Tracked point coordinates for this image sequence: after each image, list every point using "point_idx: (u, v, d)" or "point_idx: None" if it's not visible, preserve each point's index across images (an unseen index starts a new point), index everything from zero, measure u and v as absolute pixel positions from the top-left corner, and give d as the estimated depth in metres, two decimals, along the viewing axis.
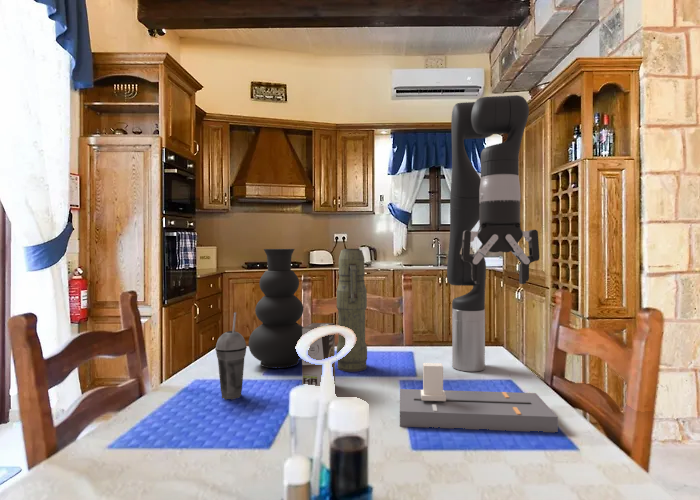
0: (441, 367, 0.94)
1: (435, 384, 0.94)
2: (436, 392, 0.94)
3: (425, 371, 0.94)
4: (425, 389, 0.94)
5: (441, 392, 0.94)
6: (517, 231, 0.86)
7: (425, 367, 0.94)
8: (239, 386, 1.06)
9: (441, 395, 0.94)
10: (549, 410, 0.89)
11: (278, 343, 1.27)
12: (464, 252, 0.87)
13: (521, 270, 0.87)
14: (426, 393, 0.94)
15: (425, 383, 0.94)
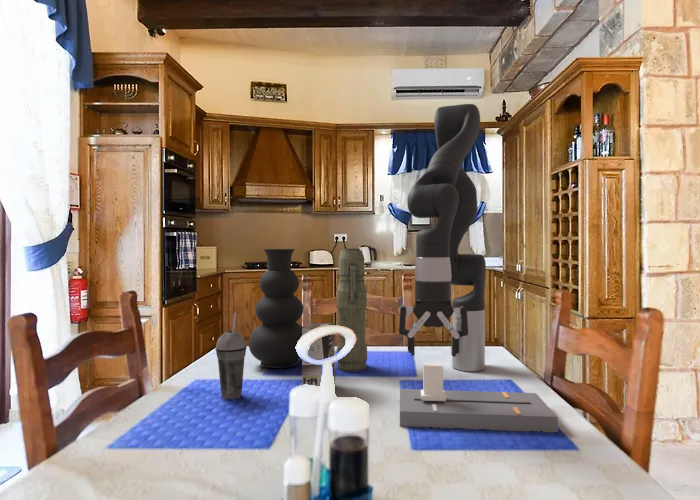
0: (441, 367, 0.94)
1: (435, 384, 0.94)
2: (436, 392, 0.94)
3: (425, 371, 0.94)
4: (425, 389, 0.94)
5: (441, 392, 0.94)
6: (448, 308, 0.94)
7: (425, 367, 0.94)
8: (239, 386, 1.06)
9: (441, 395, 0.94)
10: (549, 410, 0.89)
11: (278, 343, 1.27)
12: (400, 326, 0.95)
13: (452, 344, 0.94)
14: (426, 393, 0.94)
15: (425, 383, 0.94)
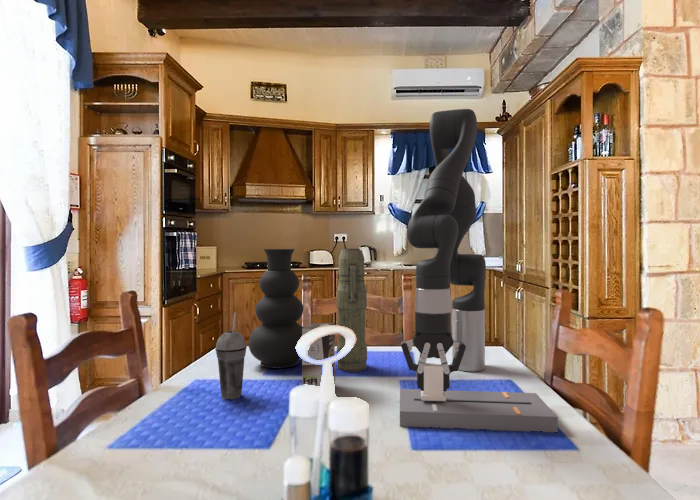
0: (442, 367, 0.94)
1: (435, 384, 0.94)
2: (436, 392, 0.94)
3: (425, 371, 0.94)
4: (425, 389, 0.94)
5: (441, 392, 0.94)
6: (449, 339, 0.94)
7: (425, 367, 0.94)
8: (239, 386, 1.06)
9: (441, 395, 0.94)
10: (549, 410, 0.89)
11: (278, 343, 1.27)
12: (408, 363, 0.95)
13: None
14: (426, 393, 0.94)
15: (425, 383, 0.94)
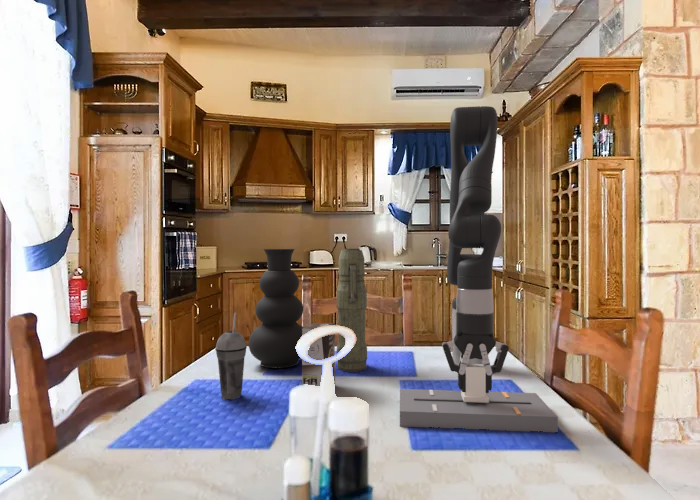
0: (484, 368, 0.93)
1: (477, 386, 0.93)
2: (478, 393, 0.93)
3: (467, 372, 0.93)
4: (467, 390, 0.94)
5: (483, 393, 0.93)
6: (491, 340, 0.93)
7: (467, 368, 0.93)
8: (239, 386, 1.06)
9: (484, 396, 0.93)
10: (549, 410, 0.89)
11: (278, 343, 1.27)
12: (449, 364, 0.94)
13: None
14: (468, 394, 0.93)
15: (467, 384, 0.93)
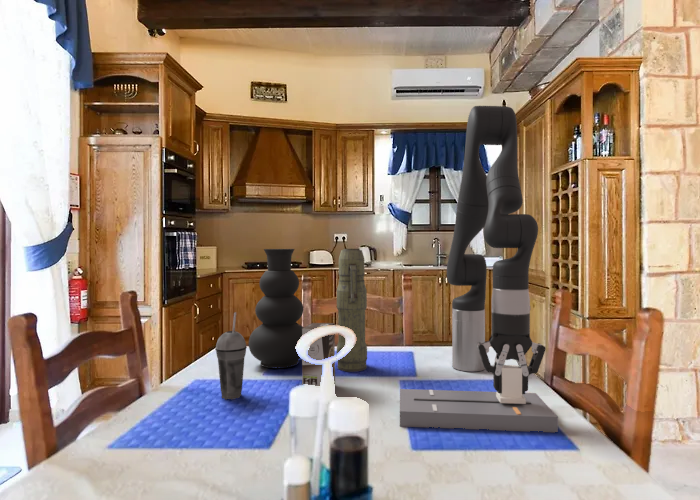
0: (520, 369, 0.92)
1: (514, 387, 0.92)
2: (515, 394, 0.92)
3: (503, 373, 0.93)
4: (503, 391, 0.93)
5: (520, 394, 0.92)
6: (528, 341, 0.92)
7: (503, 369, 0.93)
8: (239, 386, 1.06)
9: (520, 398, 0.92)
10: (549, 410, 0.89)
11: (278, 343, 1.27)
12: (485, 365, 0.93)
13: None
14: (504, 395, 0.93)
15: (503, 385, 0.93)
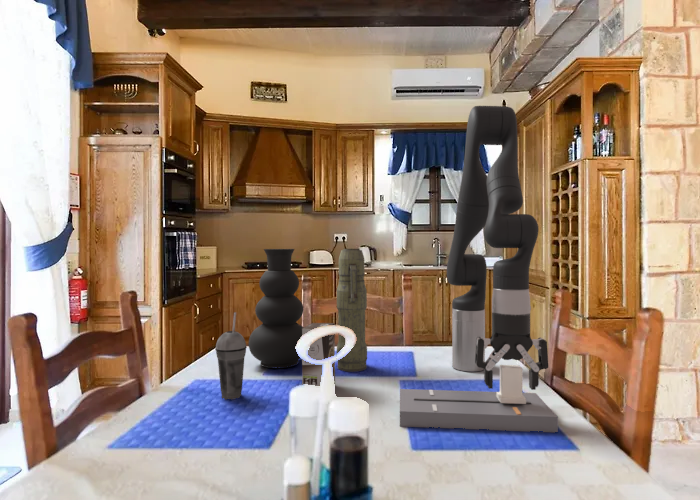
0: (521, 369, 0.92)
1: (514, 387, 0.92)
2: (515, 394, 0.92)
3: (504, 373, 0.93)
4: (504, 391, 0.93)
5: (520, 394, 0.92)
6: (527, 341, 0.92)
7: (504, 369, 0.93)
8: (239, 386, 1.06)
9: (521, 398, 0.92)
10: (549, 410, 0.89)
11: (278, 343, 1.27)
12: (478, 359, 0.93)
13: (531, 376, 0.93)
14: (505, 395, 0.93)
15: (504, 385, 0.93)
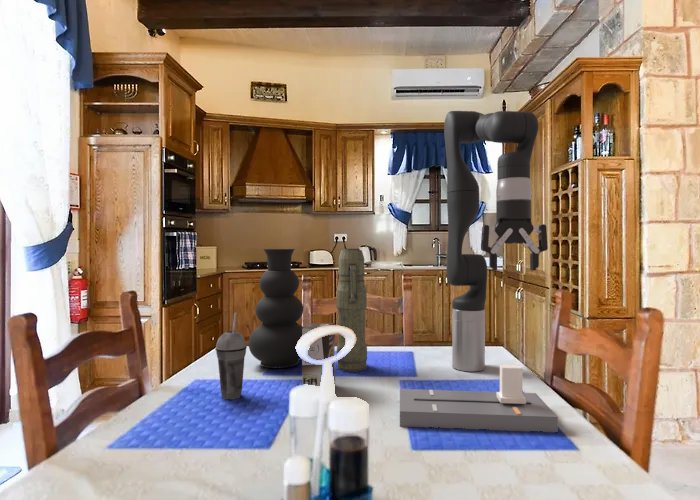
0: (521, 369, 0.92)
1: (514, 387, 0.92)
2: (515, 394, 0.92)
3: (504, 373, 0.93)
4: (504, 391, 0.93)
5: (520, 394, 0.92)
6: (528, 225, 1.02)
7: (504, 369, 0.93)
8: (239, 386, 1.06)
9: (521, 398, 0.92)
10: (549, 410, 0.89)
11: (278, 343, 1.27)
12: (483, 243, 1.03)
13: (532, 258, 1.02)
14: (505, 395, 0.93)
15: (504, 385, 0.93)
